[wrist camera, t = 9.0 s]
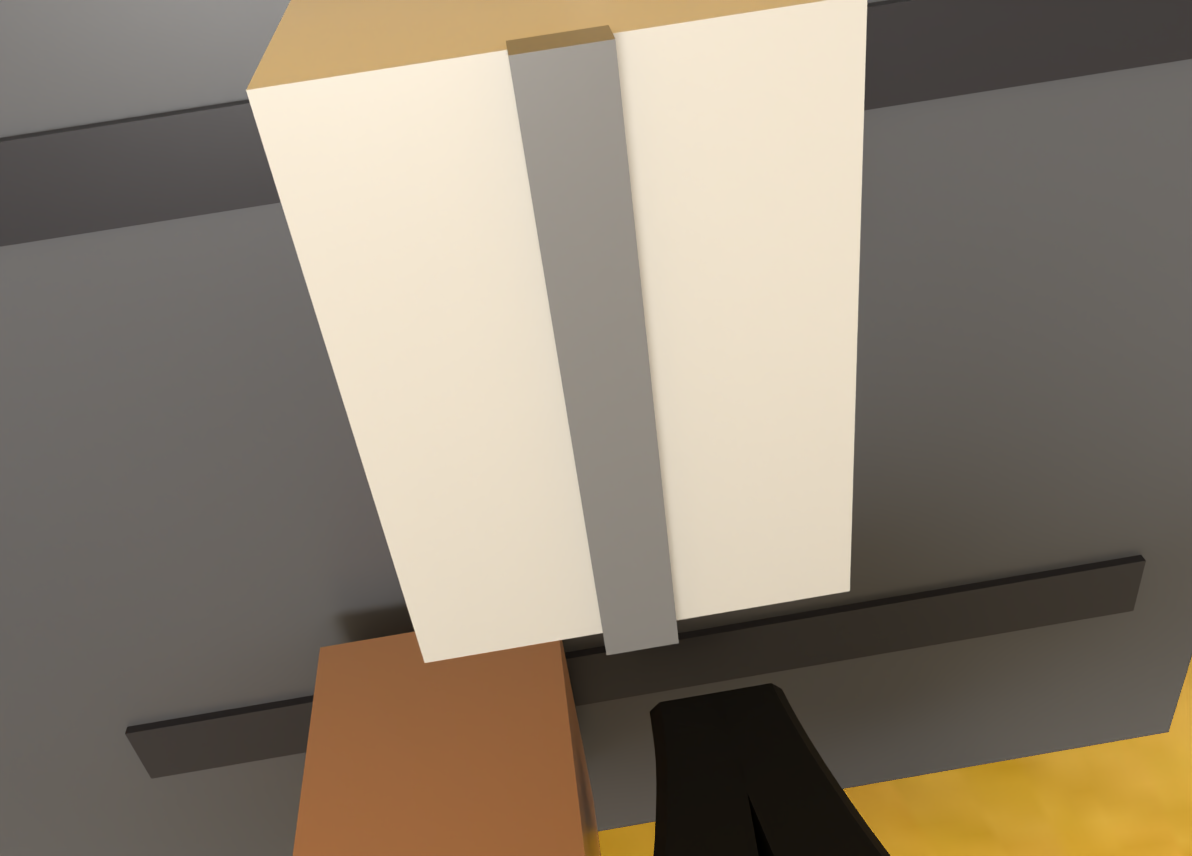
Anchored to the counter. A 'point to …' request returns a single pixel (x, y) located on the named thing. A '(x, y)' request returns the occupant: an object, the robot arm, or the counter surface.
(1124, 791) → the counter surface
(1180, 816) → the counter surface
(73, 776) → the console
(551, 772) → the fader terracotta
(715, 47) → the fader cream
